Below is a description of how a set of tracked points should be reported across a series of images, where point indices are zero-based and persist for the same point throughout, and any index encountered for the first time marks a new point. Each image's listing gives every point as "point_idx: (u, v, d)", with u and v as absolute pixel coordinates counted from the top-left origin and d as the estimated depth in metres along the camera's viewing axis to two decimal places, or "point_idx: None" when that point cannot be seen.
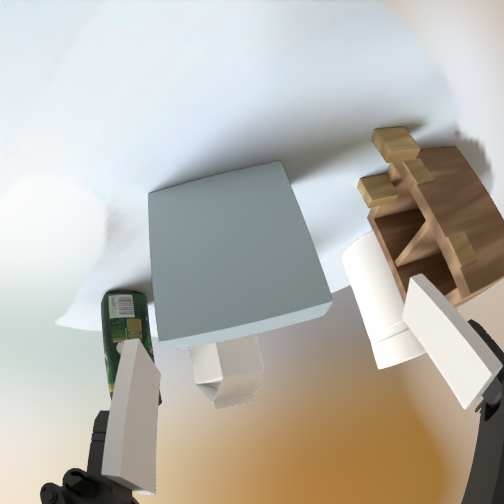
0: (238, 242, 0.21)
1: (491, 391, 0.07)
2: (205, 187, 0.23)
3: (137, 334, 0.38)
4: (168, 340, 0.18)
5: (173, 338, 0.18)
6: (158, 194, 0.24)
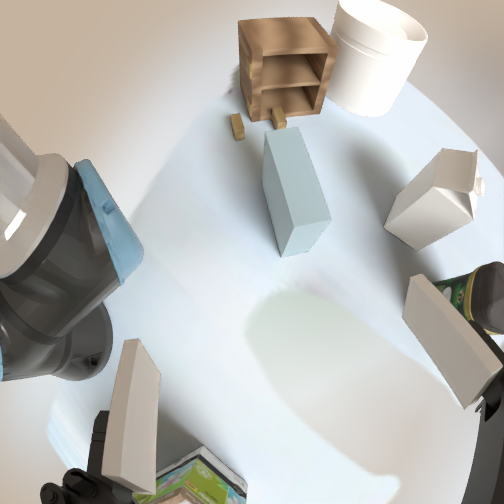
0: (272, 192, 0.35)
1: (491, 391, 0.07)
2: (273, 221, 0.41)
3: (439, 290, 0.32)
4: (293, 220, 0.28)
5: (291, 217, 0.28)
6: (279, 250, 0.40)
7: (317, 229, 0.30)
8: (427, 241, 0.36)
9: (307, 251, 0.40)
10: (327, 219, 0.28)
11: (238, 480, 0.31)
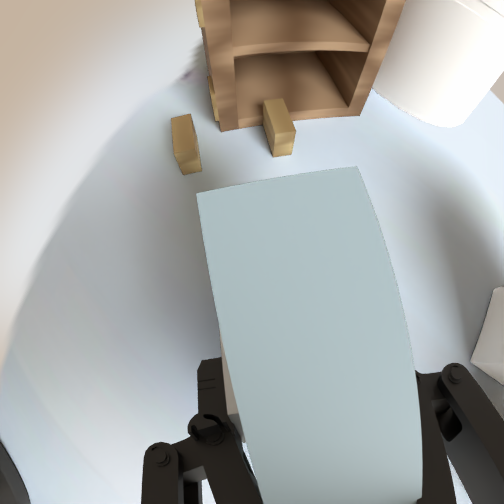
0: None
1: None
2: None
3: None
4: None
5: None
6: None
7: None
8: None
9: None
10: None
11: None
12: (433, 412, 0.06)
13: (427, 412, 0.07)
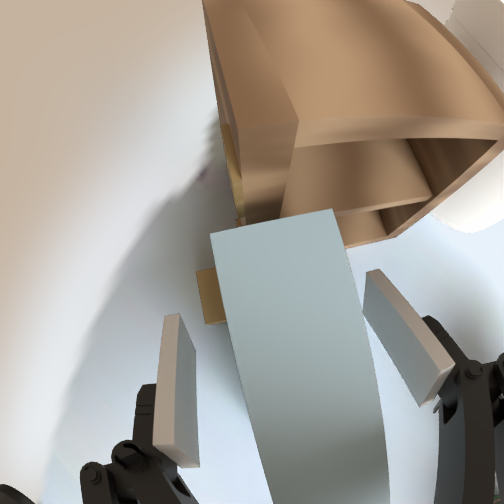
0: None
1: (446, 393, 0.08)
2: None
3: None
4: None
5: None
6: None
7: None
8: None
9: None
10: None
11: None
12: (489, 403, 0.06)
13: (485, 402, 0.06)
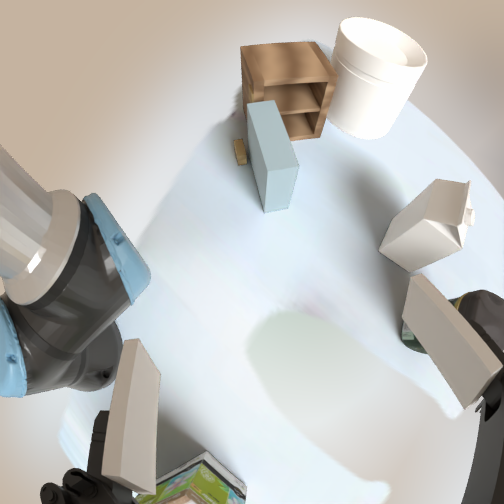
0: (255, 154, 0.41)
1: (491, 391, 0.07)
2: (257, 182, 0.46)
3: None
4: (267, 167, 0.34)
5: (265, 164, 0.34)
6: (263, 206, 0.46)
7: (289, 177, 0.36)
8: (419, 265, 0.39)
9: (287, 207, 0.46)
10: (295, 166, 0.34)
11: (238, 483, 0.33)
12: None
13: None
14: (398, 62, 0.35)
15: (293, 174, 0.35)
